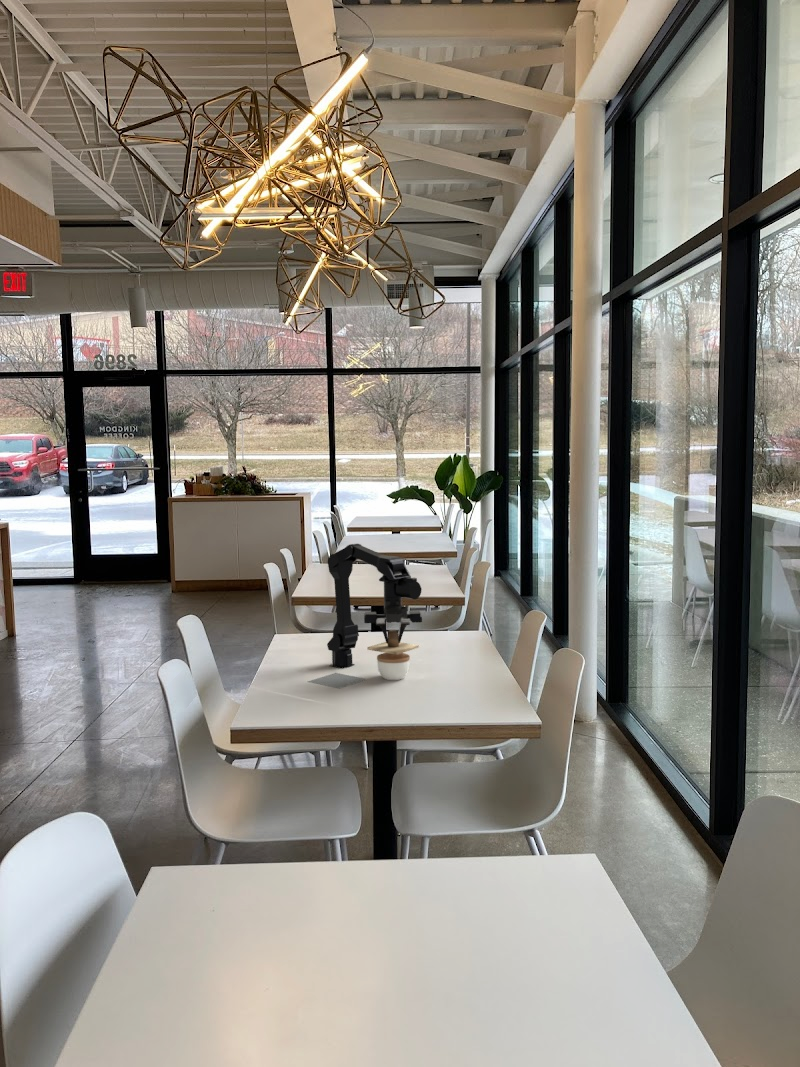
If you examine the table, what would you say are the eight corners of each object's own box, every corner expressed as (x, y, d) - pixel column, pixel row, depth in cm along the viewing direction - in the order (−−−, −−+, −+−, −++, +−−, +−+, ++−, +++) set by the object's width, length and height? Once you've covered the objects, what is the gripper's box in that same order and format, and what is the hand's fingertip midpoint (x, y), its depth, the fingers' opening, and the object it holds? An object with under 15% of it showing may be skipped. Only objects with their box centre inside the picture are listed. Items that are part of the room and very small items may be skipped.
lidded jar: (411, 675, 297) (411, 647, 296) (408, 683, 286) (408, 655, 286) (379, 674, 298) (379, 647, 297) (375, 683, 288) (375, 654, 287)
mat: (307, 682, 289) (307, 681, 288) (335, 673, 300) (335, 672, 300) (339, 689, 280) (339, 688, 280) (367, 680, 291) (367, 678, 291)
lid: (367, 649, 290) (367, 632, 290) (389, 643, 300) (389, 626, 299) (396, 654, 283) (396, 636, 282) (418, 647, 292) (418, 630, 292)
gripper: (364, 600, 281) (364, 649, 283) (423, 599, 282) (423, 648, 284) (363, 594, 292) (364, 641, 294) (420, 593, 293) (420, 640, 295)
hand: (393, 643), depth 291 cm, fingers closed on lid, 4 cm apart
